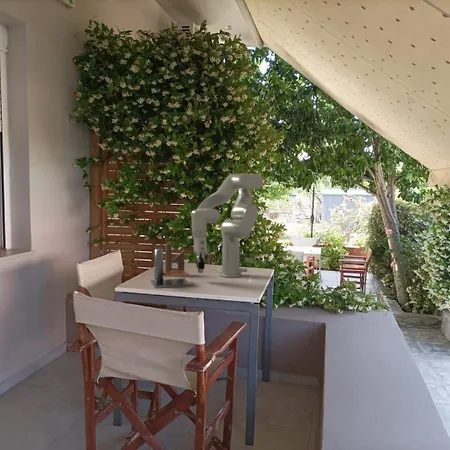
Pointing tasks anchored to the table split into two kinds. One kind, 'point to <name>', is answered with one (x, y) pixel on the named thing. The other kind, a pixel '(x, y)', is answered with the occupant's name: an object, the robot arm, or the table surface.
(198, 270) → the wedge pin
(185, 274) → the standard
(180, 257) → the brown slanted frame
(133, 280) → the table surface
